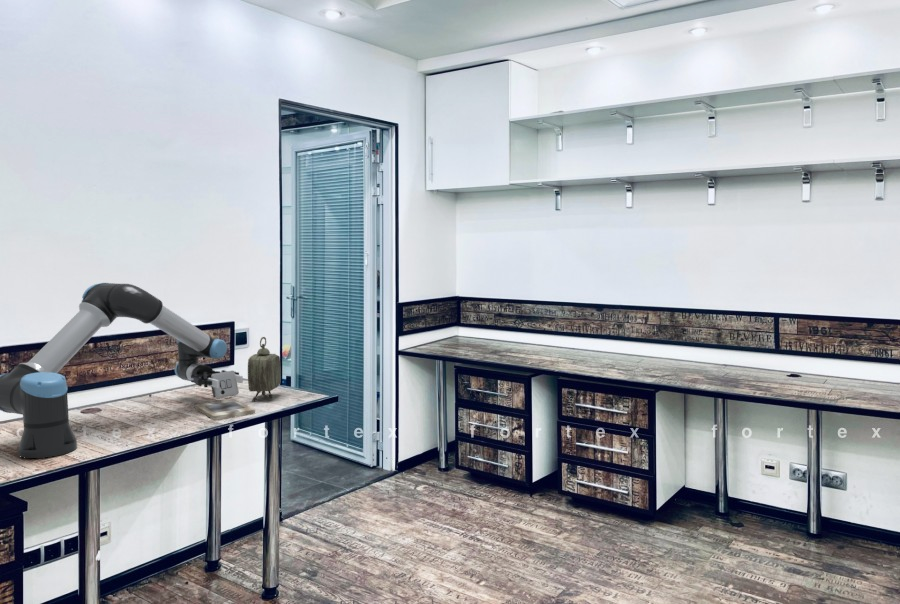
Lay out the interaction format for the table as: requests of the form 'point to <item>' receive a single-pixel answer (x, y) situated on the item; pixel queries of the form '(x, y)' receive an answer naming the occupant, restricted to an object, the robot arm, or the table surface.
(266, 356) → the tabletop clock
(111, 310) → the robot arm
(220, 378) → the electrical switch
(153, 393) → the table surface
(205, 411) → the mounting board
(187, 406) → the table surface
